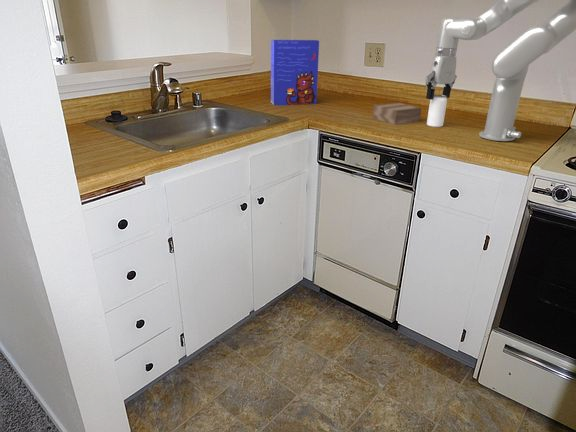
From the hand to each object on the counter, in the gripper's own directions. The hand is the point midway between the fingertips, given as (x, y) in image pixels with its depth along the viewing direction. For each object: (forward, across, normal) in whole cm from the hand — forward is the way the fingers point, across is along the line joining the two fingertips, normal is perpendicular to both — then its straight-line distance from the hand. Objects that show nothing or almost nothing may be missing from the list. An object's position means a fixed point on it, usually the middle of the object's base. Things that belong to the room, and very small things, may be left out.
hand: (437, 98), depth 175 cm
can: (+11, 0, -1) cm, 11 cm away
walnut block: (+12, -6, +15) cm, 20 cm away
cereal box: (+13, -26, +65) cm, 71 cm away
